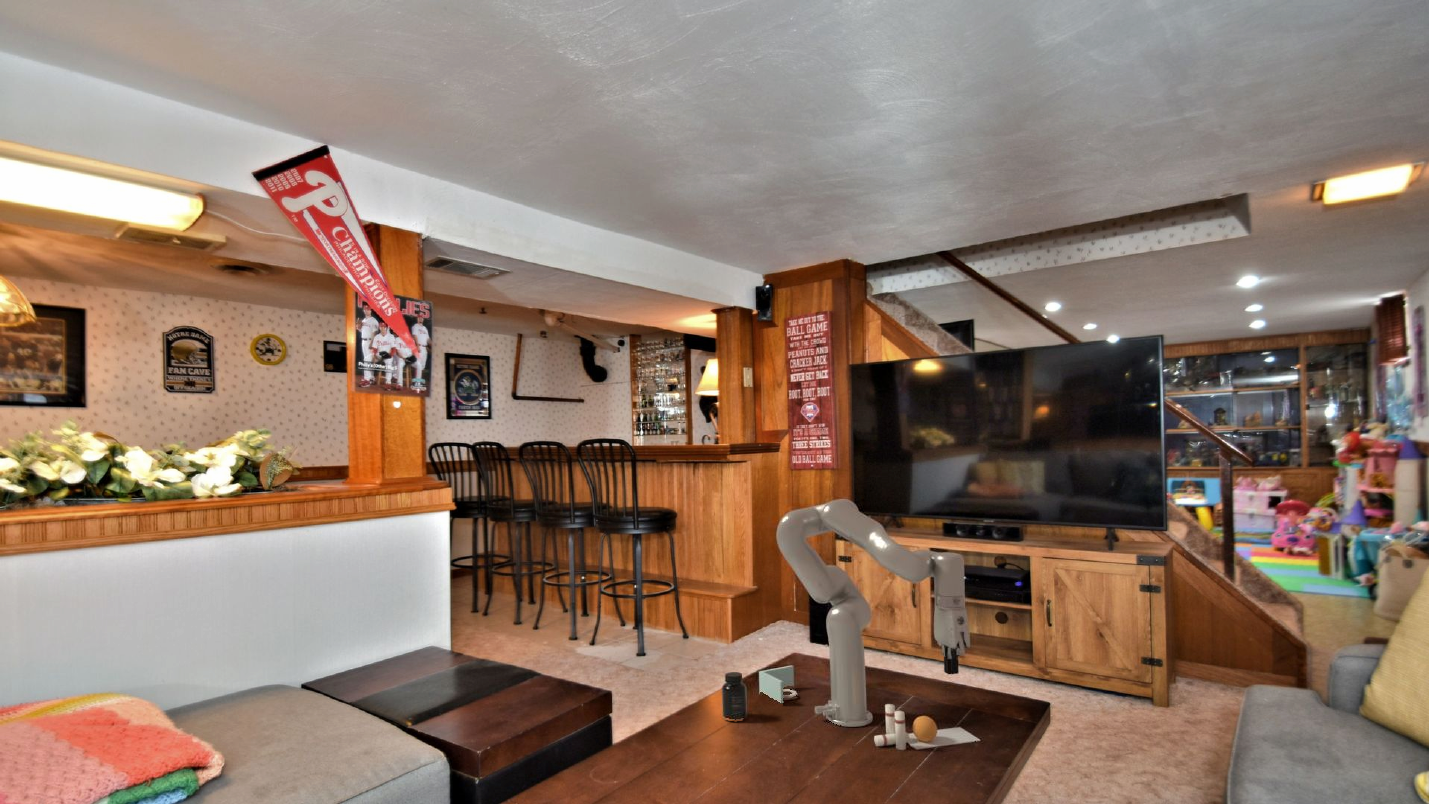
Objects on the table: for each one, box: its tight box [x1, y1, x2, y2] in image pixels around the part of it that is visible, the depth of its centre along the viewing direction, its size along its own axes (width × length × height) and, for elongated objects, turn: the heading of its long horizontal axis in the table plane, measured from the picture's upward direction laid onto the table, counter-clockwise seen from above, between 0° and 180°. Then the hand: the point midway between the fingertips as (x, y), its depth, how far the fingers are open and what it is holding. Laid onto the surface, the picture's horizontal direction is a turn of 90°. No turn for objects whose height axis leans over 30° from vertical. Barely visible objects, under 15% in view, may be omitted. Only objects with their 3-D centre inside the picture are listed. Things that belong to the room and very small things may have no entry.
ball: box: [912, 715, 938, 742], centre depth 179 cm, size 6×6×6 cm
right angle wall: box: [758, 665, 798, 703], centre depth 215 cm, size 12×12×8 cm
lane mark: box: [907, 726, 981, 750], centre depth 181 cm, size 18×9×1 cm, turn 104°
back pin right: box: [895, 710, 907, 751], centre depth 176 cm, size 2×2×8 cm
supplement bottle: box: [721, 671, 748, 720], centre depth 198 cm, size 7×7×12 cm
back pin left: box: [884, 703, 896, 735], centre depth 181 cm, size 2×2×8 cm
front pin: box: [873, 731, 910, 747], centre depth 178 cm, size 2×2×8 cm
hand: (951, 672), depth 183 cm, fingers closed
